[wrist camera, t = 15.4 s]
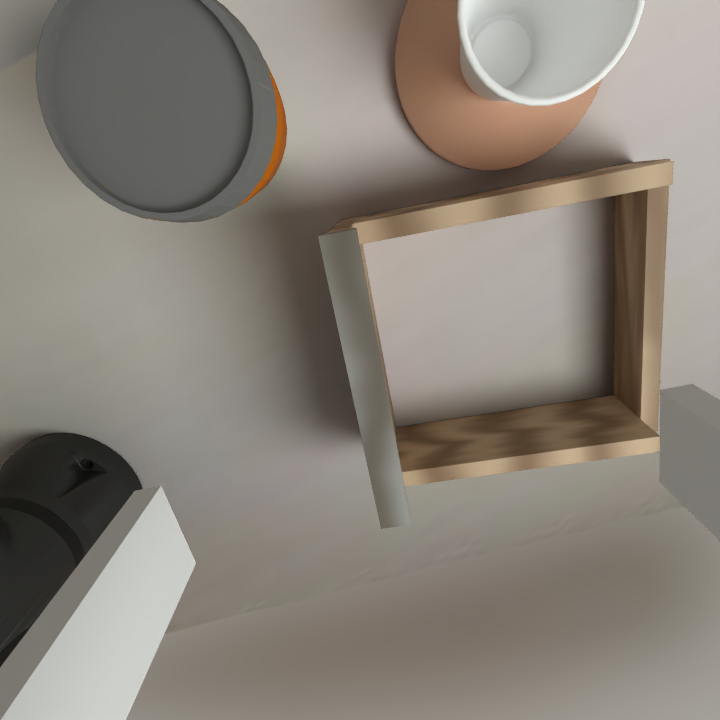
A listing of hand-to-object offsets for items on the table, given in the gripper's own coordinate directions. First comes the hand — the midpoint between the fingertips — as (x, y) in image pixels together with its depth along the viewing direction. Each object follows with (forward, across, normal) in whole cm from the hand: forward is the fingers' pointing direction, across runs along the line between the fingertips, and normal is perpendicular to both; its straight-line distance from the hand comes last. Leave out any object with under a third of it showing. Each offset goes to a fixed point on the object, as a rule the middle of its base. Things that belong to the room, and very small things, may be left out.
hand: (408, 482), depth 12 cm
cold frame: (+32, +10, -6) cm, 34 cm away
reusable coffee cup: (+32, -9, +14) cm, 37 cm away
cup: (+30, +13, +14) cm, 36 cm away
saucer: (+31, +13, +14) cm, 37 cm away
